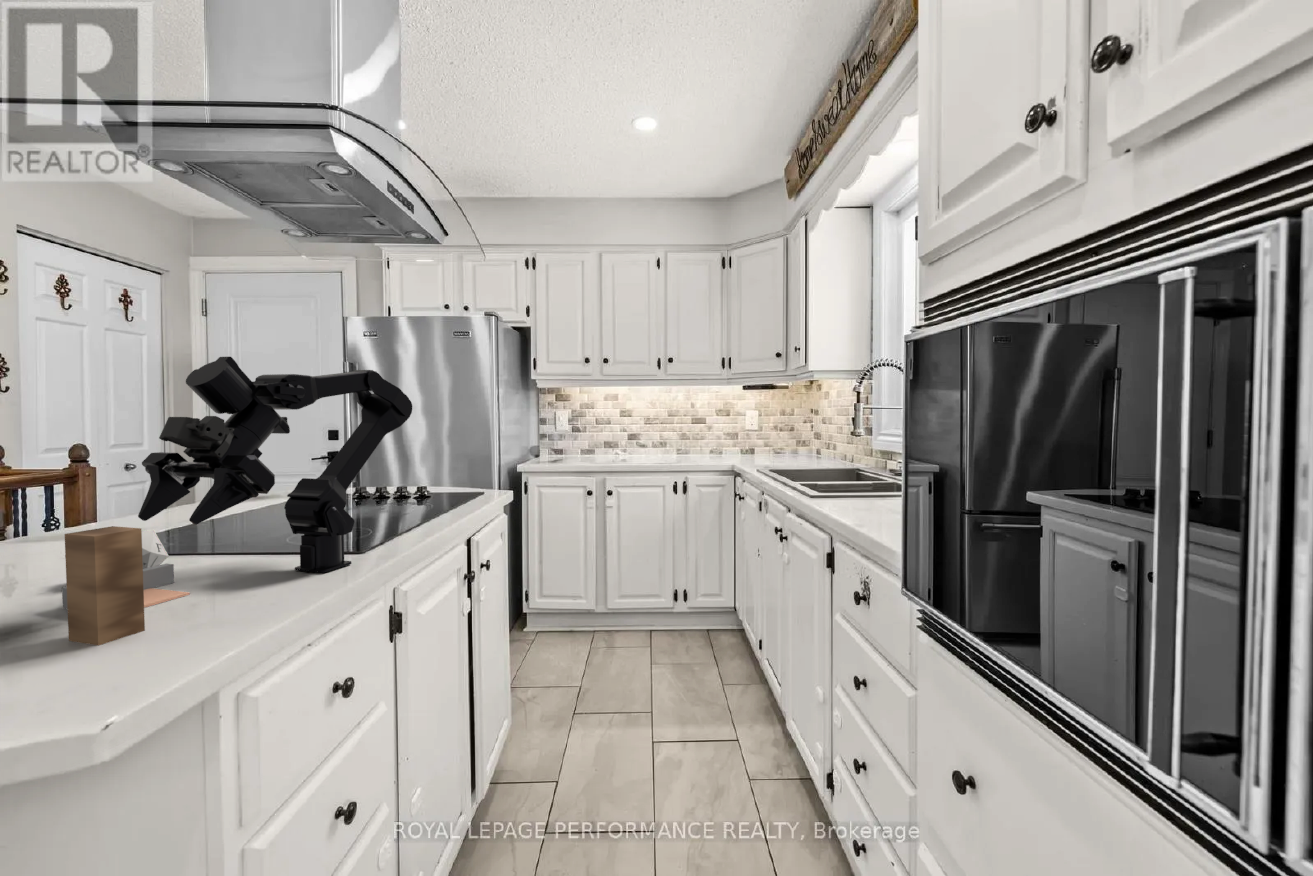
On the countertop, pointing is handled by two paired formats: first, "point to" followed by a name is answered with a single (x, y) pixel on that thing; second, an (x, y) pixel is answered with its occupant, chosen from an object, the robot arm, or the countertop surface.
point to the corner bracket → (145, 579)
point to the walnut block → (104, 584)
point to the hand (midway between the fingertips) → (166, 520)
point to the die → (152, 549)
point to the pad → (160, 596)
